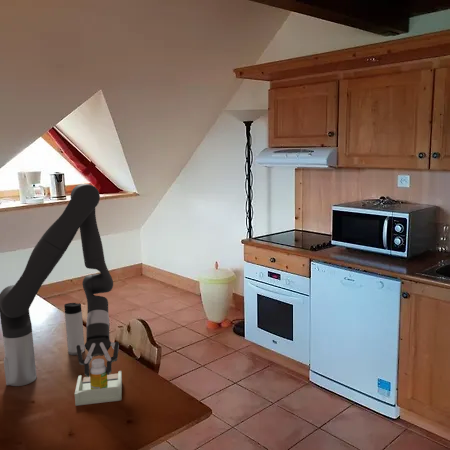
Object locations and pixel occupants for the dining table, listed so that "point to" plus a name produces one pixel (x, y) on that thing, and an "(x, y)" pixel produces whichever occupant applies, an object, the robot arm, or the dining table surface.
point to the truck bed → (98, 390)
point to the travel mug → (74, 327)
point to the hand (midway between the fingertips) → (98, 375)
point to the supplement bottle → (98, 374)
